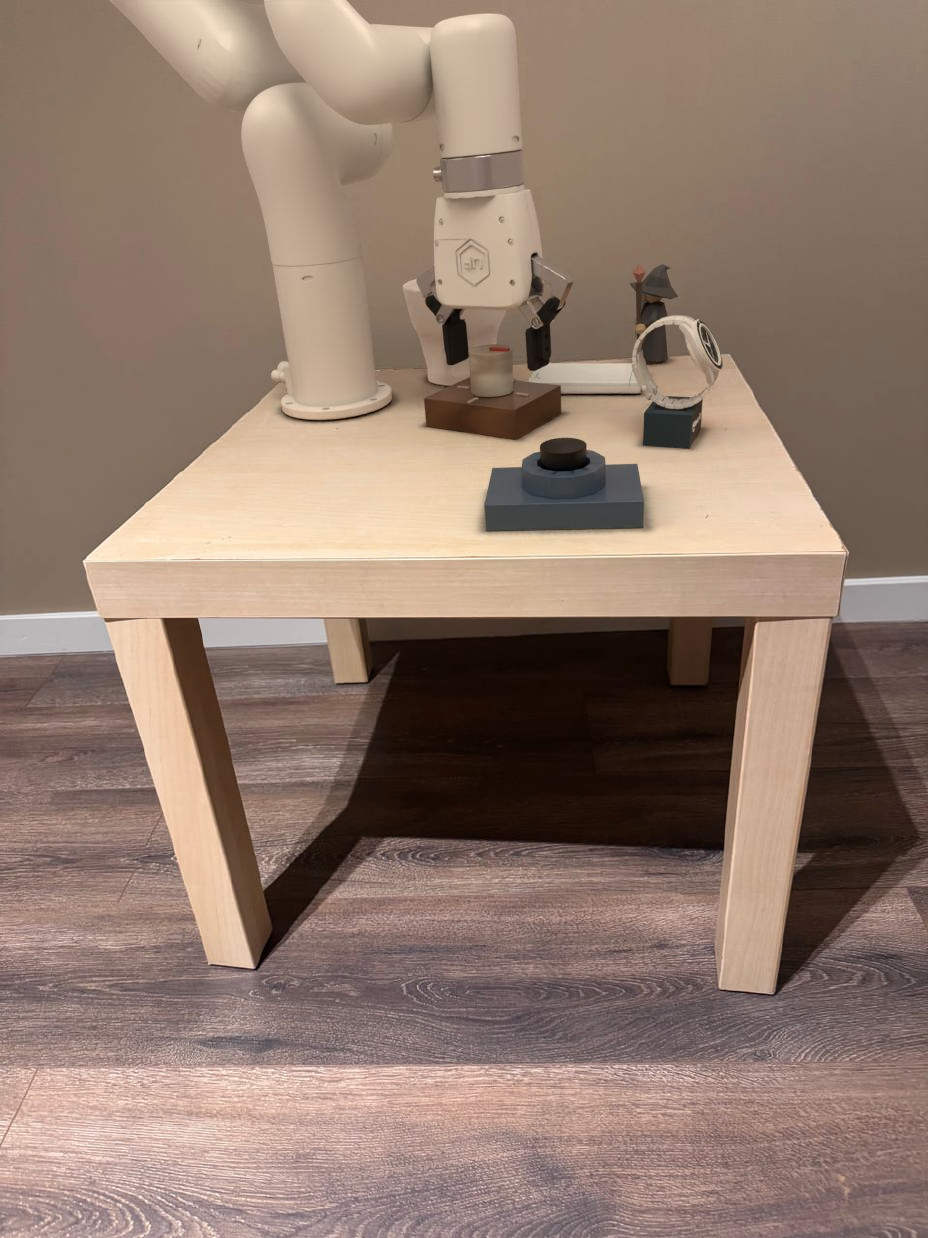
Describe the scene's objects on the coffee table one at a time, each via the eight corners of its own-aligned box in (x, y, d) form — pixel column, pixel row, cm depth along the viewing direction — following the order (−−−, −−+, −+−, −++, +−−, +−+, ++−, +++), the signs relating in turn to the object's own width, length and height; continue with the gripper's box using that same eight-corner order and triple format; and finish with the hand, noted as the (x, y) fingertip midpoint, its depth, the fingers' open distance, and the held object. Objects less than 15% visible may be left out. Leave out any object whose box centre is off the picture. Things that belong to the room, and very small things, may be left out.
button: (539, 475, 69) (539, 453, 69) (541, 459, 73) (540, 438, 72) (586, 474, 69) (586, 452, 68) (586, 457, 72) (586, 436, 71)
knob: (462, 394, 92) (459, 349, 90) (486, 383, 95) (483, 339, 93) (498, 399, 90) (496, 353, 88) (521, 387, 93) (520, 342, 91)
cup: (415, 366, 116) (406, 275, 110) (512, 360, 115) (508, 268, 109) (407, 393, 105) (396, 294, 99) (514, 387, 104) (509, 287, 99)
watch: (711, 450, 82) (720, 325, 76) (624, 443, 85) (626, 323, 79) (721, 430, 86) (730, 311, 81) (638, 425, 89) (641, 310, 84)
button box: (485, 531, 70) (482, 482, 68) (493, 492, 77) (491, 446, 75) (643, 527, 68) (644, 478, 66) (636, 488, 75) (638, 442, 73)
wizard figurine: (629, 355, 113) (631, 253, 107) (674, 354, 112) (679, 251, 106) (627, 373, 106) (629, 265, 100) (676, 372, 105) (681, 262, 99)
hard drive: (526, 381, 100) (640, 380, 97) (538, 362, 107) (645, 360, 104) (527, 396, 101) (640, 395, 98) (539, 376, 108) (644, 374, 105)
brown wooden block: (426, 426, 94) (423, 396, 92) (474, 402, 100) (472, 373, 99) (516, 439, 88) (515, 408, 87) (561, 413, 94) (560, 383, 93)
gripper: (384, 186, 85) (407, 369, 93) (544, 175, 75) (553, 380, 84) (431, 177, 90) (449, 351, 98) (586, 166, 81) (591, 360, 89)
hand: (497, 364), depth 91 cm, fingers open, 9 cm apart
